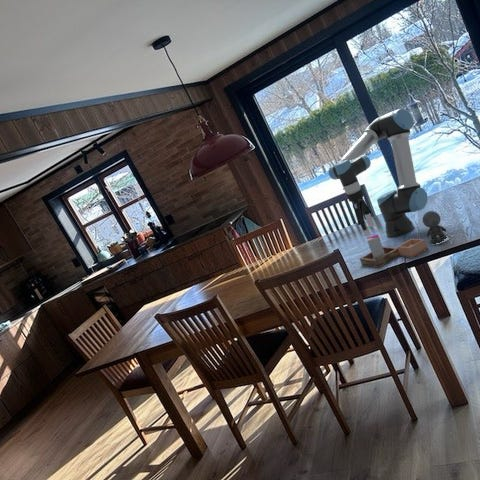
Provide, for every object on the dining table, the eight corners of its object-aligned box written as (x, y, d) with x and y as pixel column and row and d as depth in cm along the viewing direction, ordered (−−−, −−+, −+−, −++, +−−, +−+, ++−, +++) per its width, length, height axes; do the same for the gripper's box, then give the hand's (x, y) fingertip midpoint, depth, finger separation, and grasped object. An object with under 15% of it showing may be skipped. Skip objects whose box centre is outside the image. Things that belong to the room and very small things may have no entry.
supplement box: (386, 258, 215) (378, 236, 213) (374, 261, 216) (366, 241, 215) (386, 254, 220) (377, 233, 218) (374, 258, 222) (366, 237, 220)
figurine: (447, 235, 211) (437, 206, 209) (450, 241, 202) (439, 211, 200) (429, 240, 214) (418, 212, 212) (431, 247, 205) (420, 218, 203)
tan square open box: (415, 247, 213) (411, 238, 213) (427, 249, 205) (424, 239, 204) (400, 256, 211) (396, 246, 210) (412, 257, 203) (409, 248, 202)
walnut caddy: (383, 252, 226) (381, 246, 226) (401, 254, 213) (398, 248, 212) (361, 264, 223) (359, 258, 223) (378, 267, 210) (375, 261, 209)
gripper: (351, 187, 224) (366, 224, 228) (341, 201, 203) (358, 242, 207) (365, 182, 221) (380, 220, 224) (356, 195, 200) (373, 237, 203)
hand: (370, 230), depth 216 cm, fingers open, 13 cm apart
